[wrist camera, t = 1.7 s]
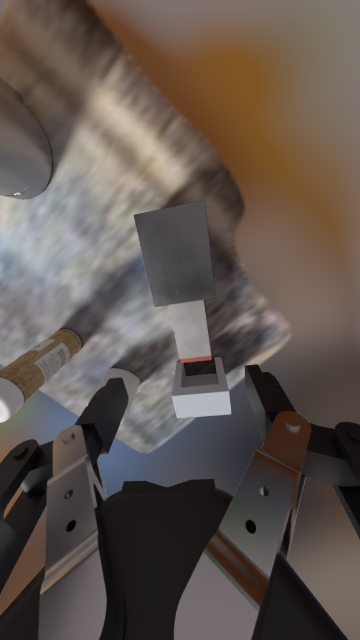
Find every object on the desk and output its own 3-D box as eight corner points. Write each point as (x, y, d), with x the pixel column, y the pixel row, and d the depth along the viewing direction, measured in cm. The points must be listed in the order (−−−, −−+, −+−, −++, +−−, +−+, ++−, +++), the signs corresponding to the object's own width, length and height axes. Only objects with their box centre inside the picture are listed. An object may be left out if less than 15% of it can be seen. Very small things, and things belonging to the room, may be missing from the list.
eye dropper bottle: (126, 393, 34) (93, 466, 23) (103, 372, 33) (57, 439, 22) (144, 382, 33) (119, 453, 22) (121, 359, 32) (82, 423, 20)
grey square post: (160, 229, 24) (152, 226, 19) (193, 223, 23) (192, 218, 19) (182, 344, 29) (180, 363, 25) (208, 340, 29) (211, 359, 24)
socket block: (176, 361, 31) (171, 396, 24) (220, 356, 30) (228, 391, 23) (180, 380, 32) (177, 418, 25) (222, 376, 31) (231, 414, 24)
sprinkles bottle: (56, 324, 30) (-42, 383, 18) (84, 333, 30) (8, 397, 18) (53, 348, 32) (-37, 417, 19) (81, 357, 32) (9, 430, 19)
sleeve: (149, 222, 24) (133, 214, 17) (201, 211, 23) (204, 199, 17) (164, 291, 27) (154, 307, 21) (210, 284, 26) (215, 297, 20)
